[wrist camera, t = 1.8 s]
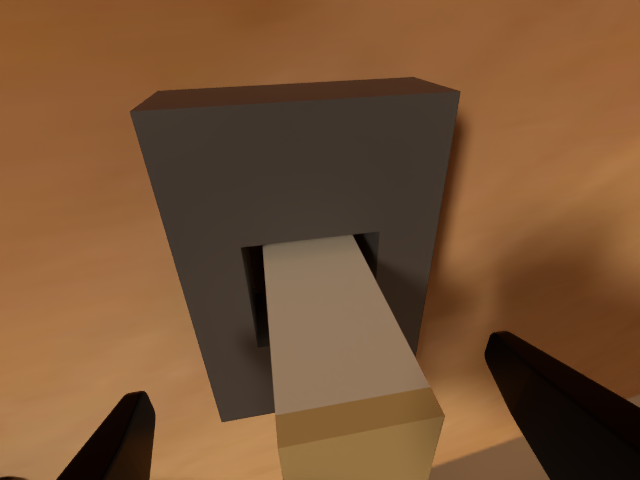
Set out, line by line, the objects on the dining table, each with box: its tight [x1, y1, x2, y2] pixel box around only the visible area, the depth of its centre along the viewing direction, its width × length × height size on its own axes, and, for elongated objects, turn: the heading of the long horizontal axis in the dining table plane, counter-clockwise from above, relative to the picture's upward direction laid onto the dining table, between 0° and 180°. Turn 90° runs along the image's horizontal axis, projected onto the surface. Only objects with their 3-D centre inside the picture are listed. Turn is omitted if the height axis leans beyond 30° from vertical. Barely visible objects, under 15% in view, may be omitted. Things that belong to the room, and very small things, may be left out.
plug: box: [262, 235, 445, 480], centre depth 11 cm, size 3×3×9 cm
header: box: [130, 77, 460, 422], centre depth 13 cm, size 12×8×3 cm, turn 2°
